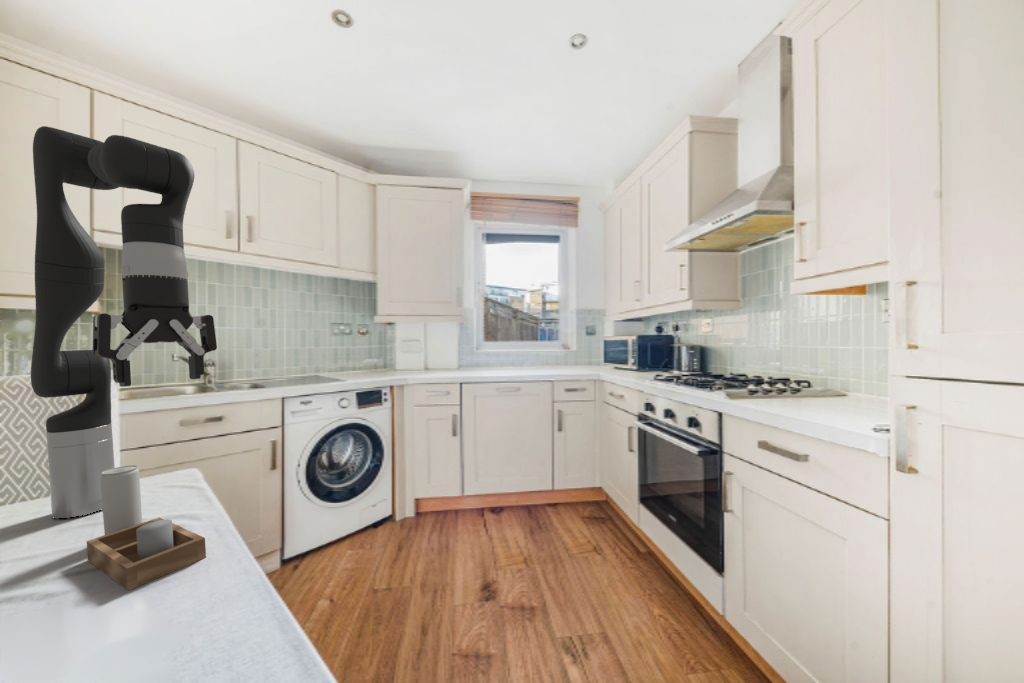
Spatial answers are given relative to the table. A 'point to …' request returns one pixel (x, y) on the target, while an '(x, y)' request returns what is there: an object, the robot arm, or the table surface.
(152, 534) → the stub
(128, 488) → the beverage can
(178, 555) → the rack
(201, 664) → the table surface
